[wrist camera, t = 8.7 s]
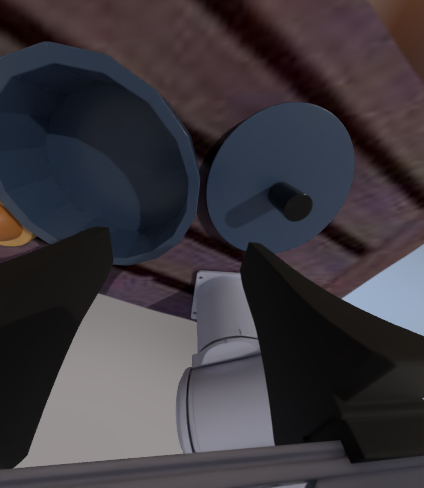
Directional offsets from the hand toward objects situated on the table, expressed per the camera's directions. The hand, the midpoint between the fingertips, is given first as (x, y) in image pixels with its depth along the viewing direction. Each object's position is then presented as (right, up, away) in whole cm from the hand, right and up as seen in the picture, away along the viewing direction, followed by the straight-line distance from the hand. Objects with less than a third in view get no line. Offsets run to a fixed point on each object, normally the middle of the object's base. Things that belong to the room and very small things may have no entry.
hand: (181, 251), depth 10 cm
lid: (+8, +6, +9) cm, 13 cm away
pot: (-6, +7, +7) cm, 12 cm away
